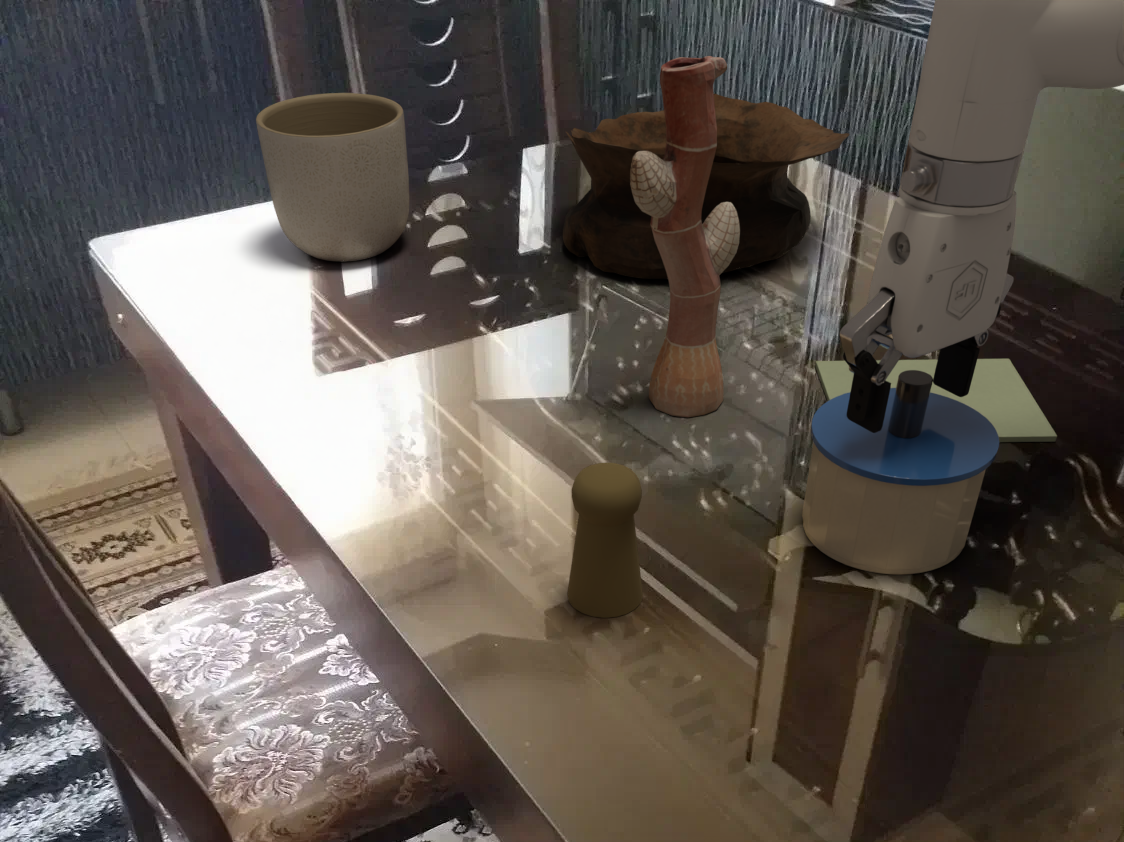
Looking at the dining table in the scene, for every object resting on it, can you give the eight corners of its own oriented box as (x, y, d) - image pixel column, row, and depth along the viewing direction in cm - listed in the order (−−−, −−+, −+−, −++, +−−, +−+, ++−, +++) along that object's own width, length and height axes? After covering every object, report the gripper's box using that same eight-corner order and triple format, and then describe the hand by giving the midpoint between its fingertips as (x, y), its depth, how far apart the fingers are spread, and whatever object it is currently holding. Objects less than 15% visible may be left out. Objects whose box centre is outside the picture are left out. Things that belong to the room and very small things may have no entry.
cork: (629, 624, 89) (633, 501, 81) (556, 608, 90) (553, 486, 82) (652, 580, 93) (658, 459, 85) (581, 566, 94) (581, 445, 86)
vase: (721, 380, 117) (751, 44, 96) (734, 415, 112) (769, 67, 91) (618, 385, 117) (626, 48, 96) (627, 421, 111) (637, 72, 90)
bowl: (503, 254, 146) (495, 121, 136) (682, 203, 163) (686, 82, 153) (705, 313, 125) (712, 162, 116) (886, 248, 142) (905, 111, 133)
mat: (1007, 363, 119) (1009, 358, 119) (1055, 441, 108) (1057, 436, 107) (814, 366, 119) (815, 360, 119) (842, 444, 108) (843, 438, 107)
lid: (969, 399, 97) (985, 334, 93) (1018, 491, 87) (1039, 423, 83) (796, 401, 97) (806, 336, 93) (825, 494, 87) (837, 425, 83)
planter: (426, 265, 139) (413, 129, 129) (285, 281, 136) (260, 142, 126) (405, 216, 151) (392, 87, 140) (275, 229, 148) (251, 99, 138)
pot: (943, 484, 102) (966, 395, 97) (984, 573, 93) (1012, 481, 87) (791, 486, 103) (804, 397, 97) (816, 575, 93) (832, 483, 87)
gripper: (912, 217, 72) (864, 460, 84) (1085, 164, 79) (1018, 395, 91) (828, 184, 77) (793, 419, 88) (999, 137, 84) (945, 360, 96)
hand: (907, 407), depth 90 cm, fingers open, 9 cm apart
